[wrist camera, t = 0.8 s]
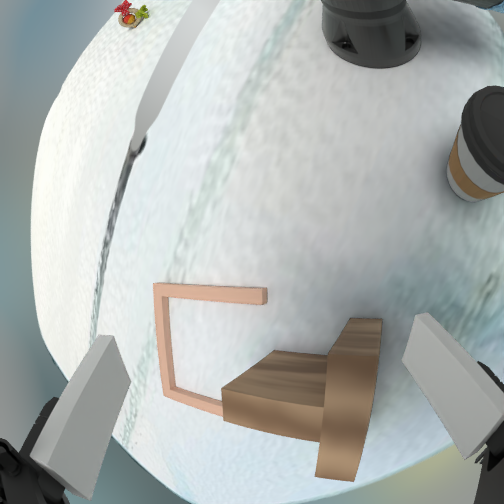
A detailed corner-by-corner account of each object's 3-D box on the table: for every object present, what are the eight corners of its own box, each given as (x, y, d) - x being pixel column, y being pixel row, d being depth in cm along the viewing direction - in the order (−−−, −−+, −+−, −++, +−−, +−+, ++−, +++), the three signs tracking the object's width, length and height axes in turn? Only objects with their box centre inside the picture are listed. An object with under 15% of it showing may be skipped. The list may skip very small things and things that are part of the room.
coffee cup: (486, 223, 23) (545, 201, 10) (430, 192, 27) (458, 146, 14) (500, 163, 22) (551, 113, 9) (446, 134, 25) (471, 64, 12)
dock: (159, 282, 46) (153, 283, 44) (266, 288, 37) (262, 289, 35) (169, 393, 45) (163, 395, 44) (267, 422, 36) (263, 427, 35)
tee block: (274, 314, 36) (218, 340, 25) (382, 318, 30) (378, 356, 18) (274, 405, 36) (226, 454, 24) (370, 417, 29) (354, 481, 18)
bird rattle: (141, 32, 58) (153, 9, 51) (108, 29, 50) (118, 4, 44) (140, 25, 59) (151, 3, 52) (108, 22, 52) (118, -2, 45)
